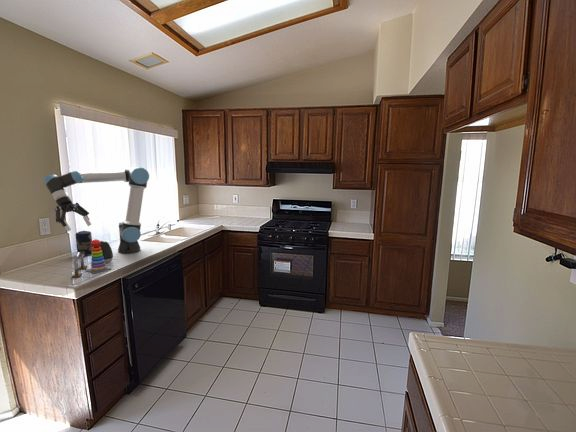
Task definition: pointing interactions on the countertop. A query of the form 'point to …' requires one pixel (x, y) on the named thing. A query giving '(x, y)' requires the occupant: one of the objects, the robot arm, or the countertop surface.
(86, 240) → the canister
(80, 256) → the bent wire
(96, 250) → the stacking toy
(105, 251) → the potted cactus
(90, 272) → the mat
